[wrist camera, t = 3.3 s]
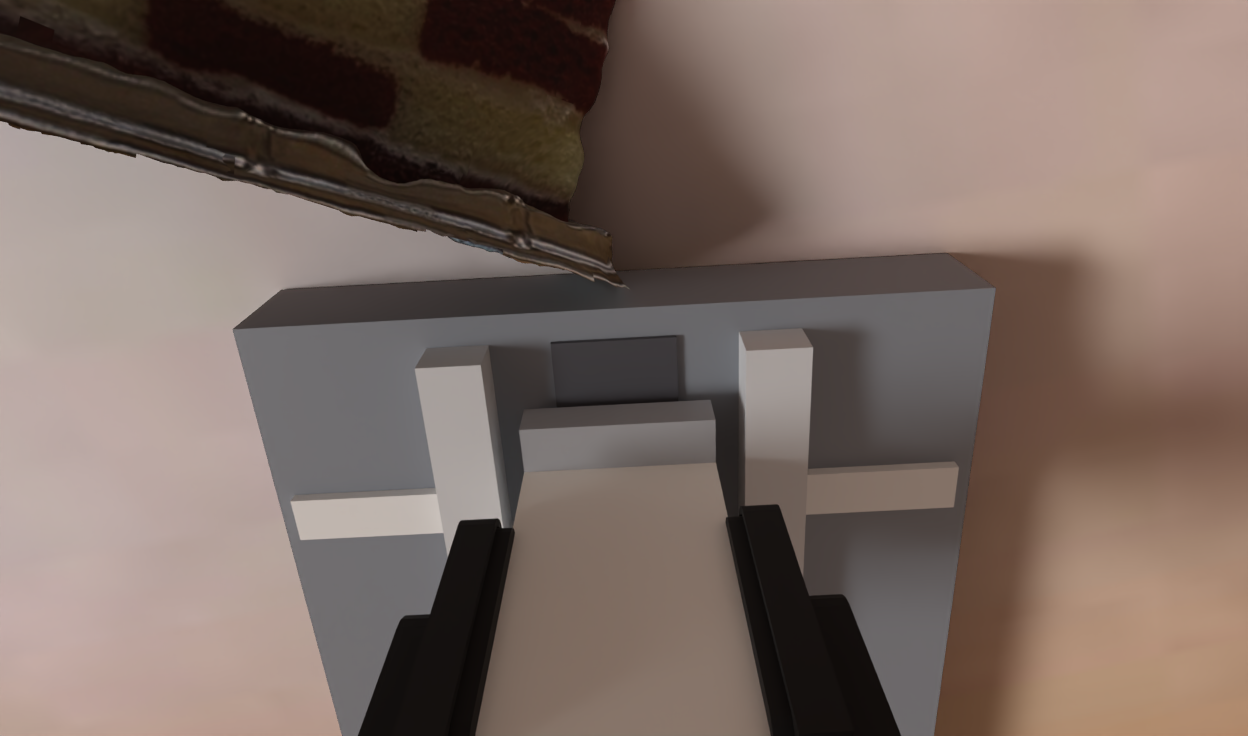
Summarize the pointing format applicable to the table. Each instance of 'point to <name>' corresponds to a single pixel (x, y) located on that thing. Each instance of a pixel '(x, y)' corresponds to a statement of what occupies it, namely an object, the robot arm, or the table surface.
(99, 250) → the table surface
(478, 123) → the chocolate cake
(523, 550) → the fader knob
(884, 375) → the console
